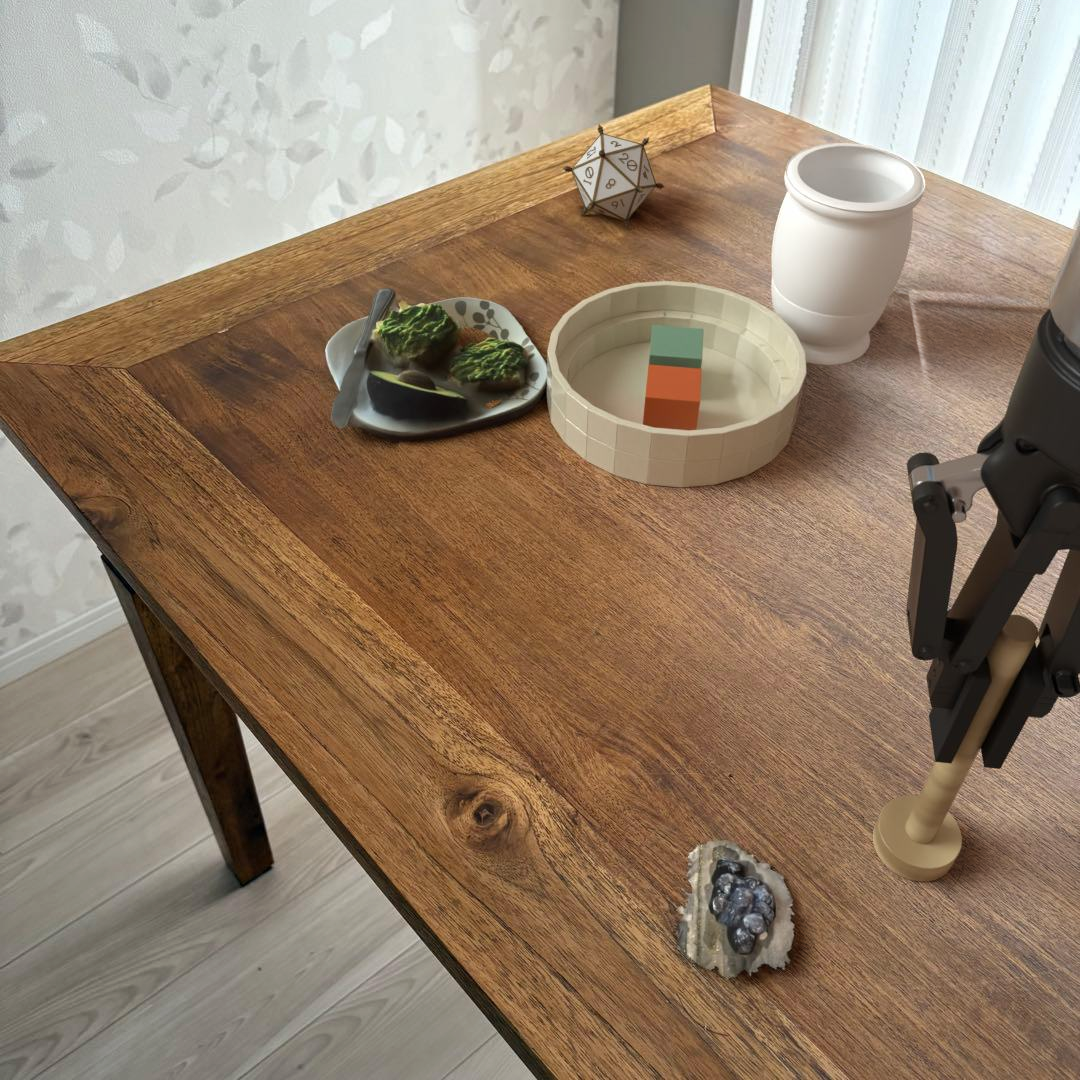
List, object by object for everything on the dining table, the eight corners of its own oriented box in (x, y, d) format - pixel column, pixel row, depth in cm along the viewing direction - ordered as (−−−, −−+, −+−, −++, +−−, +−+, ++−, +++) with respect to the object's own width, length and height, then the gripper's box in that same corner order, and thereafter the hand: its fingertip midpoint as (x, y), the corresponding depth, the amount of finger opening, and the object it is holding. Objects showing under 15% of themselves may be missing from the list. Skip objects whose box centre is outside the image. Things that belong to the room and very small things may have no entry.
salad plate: (292, 324, 95) (284, 278, 91) (491, 285, 99) (489, 239, 96) (344, 468, 82) (337, 419, 79) (569, 415, 86) (571, 367, 83)
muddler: (949, 813, 62) (1062, 595, 49) (959, 886, 59) (1083, 674, 46) (869, 804, 63) (959, 585, 49) (875, 876, 59) (974, 663, 46)
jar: (872, 388, 89) (919, 219, 78) (745, 363, 91) (773, 195, 81) (888, 316, 96) (932, 152, 85) (769, 294, 98) (798, 131, 88)
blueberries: (687, 994, 55) (691, 978, 54) (647, 849, 61) (649, 832, 59) (817, 970, 56) (824, 953, 55) (765, 829, 61) (770, 811, 60)
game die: (628, 245, 111) (697, 171, 105) (590, 255, 104) (662, 176, 98) (570, 178, 112) (636, 101, 106) (530, 183, 105) (598, 101, 99)
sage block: (698, 369, 90) (703, 328, 87) (696, 400, 87) (702, 358, 84) (648, 365, 90) (652, 324, 87) (645, 396, 87) (649, 354, 84)
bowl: (790, 347, 93) (801, 290, 89) (797, 504, 80) (811, 446, 76) (562, 328, 95) (563, 272, 91) (532, 480, 81) (532, 422, 77)
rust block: (696, 410, 86) (701, 368, 83) (694, 443, 83) (700, 401, 80) (644, 405, 86) (648, 364, 84) (641, 439, 84) (645, 397, 81)
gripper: (950, 389, 35) (814, 791, 52) (1444, 430, 34) (1139, 828, 51) (923, 261, 40) (807, 664, 57) (1350, 292, 39) (1102, 695, 56)
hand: (963, 741), depth 54 cm, fingers closed on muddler, 2 cm apart
